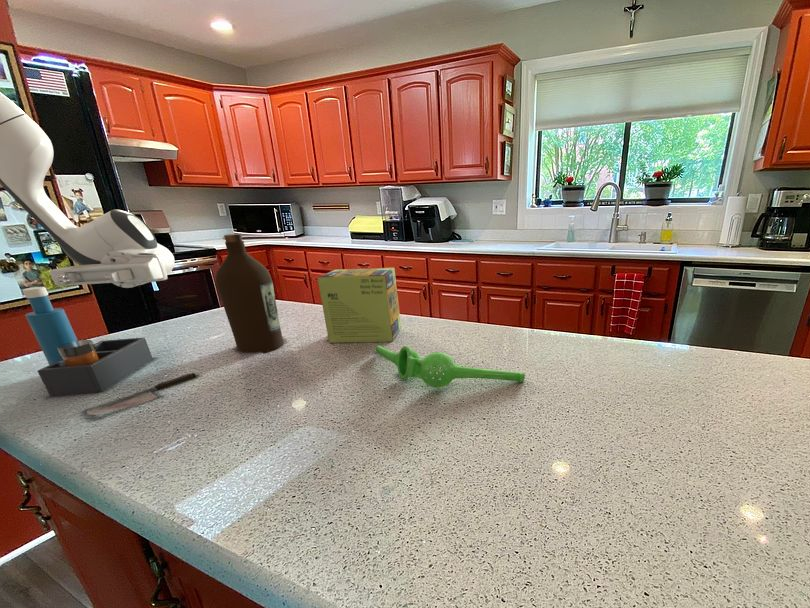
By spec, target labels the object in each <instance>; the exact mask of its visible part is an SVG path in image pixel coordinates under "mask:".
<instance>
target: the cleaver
mask: <svg viewBox="0 0 810 608" xmlns="http://www.w3.org/2000/svg"><path fill="white" fill-rule="evenodd" d="M196 378H197V375H196V373H194V372H190V373H187V374H183V375H181V376H178V377H175V378H172V379H169V380H167V381H162V382H160V383H157V384H156V385H154V387H152V388H149V389H146V390H144V391H140V392H138V393H135V394H132V395H129V396H126V397H124V398H121V399H118V400H115V401H113V402H109V403H107V404H104V405H101V406H98V407H96V408H92V409H89V410H87V411H86V414H88V415H95V416H96V415H101V414H104V413H109V412H112V411H116V410H121V409H124V408H128V407H132V406H137V405H141V404H145V403H147V402H149V401H153V400H155V399H158V396H157V395H155V394H153V392H156V391H160V390H163V389H167V388H170V387H172V386H175V385H178V384H181V383H184V382H188V381H191V380H193V379H196Z"/></svg>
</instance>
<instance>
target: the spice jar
mask: <svg viewBox="0 0 810 608" xmlns="http://www.w3.org/2000/svg"><path fill="white" fill-rule="evenodd" d="M94 344H95V343H94V342H93V340H92V339H81V340H78V341H74V342H69V343H66V344H63V345H60V346H58V347H57V349H58V351H59V353H60V355H61V356H62V358H63V360H64V362H65V364H66V366H67V367H70V366H82V365H90V364H92V363H94V362H96V361H98V360H99V357H98V355H97V353H96V350H95V346H94Z"/></svg>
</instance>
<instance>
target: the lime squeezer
mask: <svg viewBox="0 0 810 608" xmlns="http://www.w3.org/2000/svg"><path fill="white" fill-rule="evenodd" d="M375 353H376V354H378V355H380V356H381V357H383V358H385V359H386V360H388V361H390V362H391V363H393V364H394V365H395V366H396V367H397V372H398V375H399V378H400V379H401V380H404V381H405V380H408V379H409V378H417V379H420V380H422V381H423V382H424V383H425V384H426V385H427V386H429V387H431V388H437V389H440V388H444V387H446V386H448V385H450V384H451V383H452V382H453V381H454V380H455V379H457V380H458V379H484V380H499V381H511V382H518V383H522V382H524V381H525V378H526V373H525V372H521V371H509V370H498V369H487V368H479V367H478V368H476V367H468V366H463V365H457V364H456V363H455V362H454V360H453V359H452V357H450V356H449V355H448V354H446V353H444V352H432V353H430V354H427V355H426V356H425V357H423V358H421V357H420V354H419V353H418V352H417V351H415V350H414V349H412V348H411V347H410V346H408V345H403V346H402V347H401V348H400V350H399V352H395V351H392V350H388V349H387V348H386V347H383V346H382V345H377V346H376V347H375Z"/></svg>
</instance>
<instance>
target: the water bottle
mask: <svg viewBox="0 0 810 608" xmlns="http://www.w3.org/2000/svg"><path fill="white" fill-rule="evenodd" d="M21 291H22V293H23V295H24V298H26V299H27V300H28V302H29V304H30V306H31V308H32V312H31V311H30V312H28V313H25V314H24V316H25V318H26V320H27V322H28V325H29V326H30V328H31V331H32V332H33V334H34V337H35V339H36V340H37V343H38V345H39V347H40V349H41V351H42V353H43V355H44V357H45V359H46V361H47V363H48V365H51V364H53V363H55V362H57V361H59V360H61V359H63V358H62V356H61V355H60V353H59V351H58V349H57V347H58V346H60V345H63V344H66V343H69V342H74V341H79V340H78V338H77V336H76V334H75V331H74V329H73V327H72V324H71V322H70V320H69V318H68V315H67V314H66V311H65V309H64V308H61V307H55V308H54V307H53V305H52V303H51V300H50V298H49V292H48V290H47V288H46V287H45V286H35V287H27V288H24V289H22V290H21Z"/></svg>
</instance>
